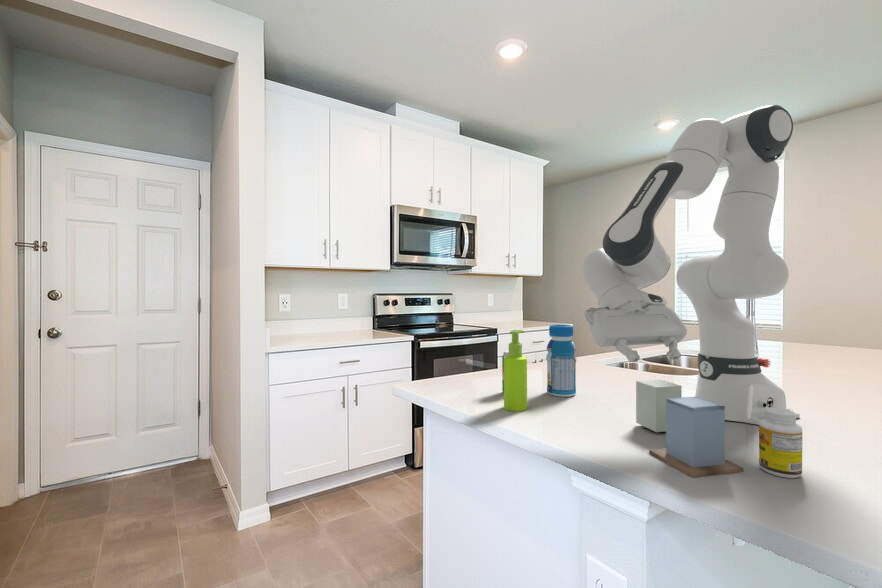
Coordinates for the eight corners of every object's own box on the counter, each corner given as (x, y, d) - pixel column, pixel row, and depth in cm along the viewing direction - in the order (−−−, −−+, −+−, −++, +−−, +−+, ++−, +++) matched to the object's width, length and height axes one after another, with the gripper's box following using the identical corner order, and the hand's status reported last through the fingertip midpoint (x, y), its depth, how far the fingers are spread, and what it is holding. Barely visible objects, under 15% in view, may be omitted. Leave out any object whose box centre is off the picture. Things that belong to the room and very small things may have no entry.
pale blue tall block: (695, 450, 76) (695, 396, 76) (724, 464, 70) (724, 406, 70) (666, 453, 75) (666, 398, 75) (693, 467, 69) (693, 408, 68)
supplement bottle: (759, 461, 72) (759, 404, 72) (801, 470, 69) (801, 410, 68) (757, 473, 68) (758, 411, 68) (802, 483, 64) (803, 418, 64)
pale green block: (660, 423, 93) (660, 379, 93) (681, 432, 87) (681, 385, 87) (636, 425, 92) (636, 380, 92) (656, 435, 86) (655, 387, 85)
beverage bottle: (561, 399, 114) (561, 327, 113) (540, 392, 121) (540, 325, 121) (582, 395, 118) (582, 325, 118) (560, 388, 125) (560, 323, 125)
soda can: (519, 395, 118) (519, 354, 117) (501, 395, 119) (501, 353, 118) (519, 391, 122) (519, 351, 122) (502, 390, 123) (502, 351, 123)
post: (695, 448, 78) (695, 403, 78) (743, 471, 68) (743, 420, 68) (649, 453, 76) (649, 407, 76) (692, 477, 66) (692, 424, 66)
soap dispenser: (531, 405, 107) (531, 329, 107) (522, 412, 101) (521, 332, 101) (510, 402, 110) (510, 328, 110) (500, 409, 105) (499, 331, 104)
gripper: (587, 298, 86) (616, 352, 77) (670, 296, 90) (708, 347, 81) (576, 318, 91) (602, 371, 81) (655, 315, 95) (689, 365, 86)
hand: (656, 359), depth 81 cm, fingers open, 8 cm apart
